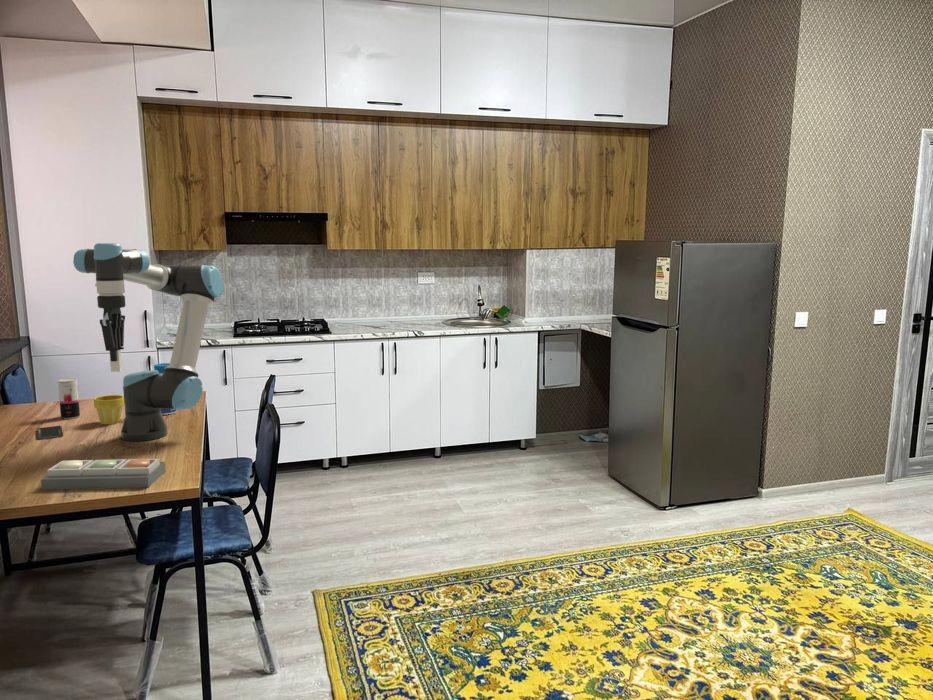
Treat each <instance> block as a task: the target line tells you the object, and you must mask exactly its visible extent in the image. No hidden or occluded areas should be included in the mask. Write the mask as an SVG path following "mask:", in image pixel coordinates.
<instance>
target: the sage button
mask: <svg viewBox="0 0 933 700" xmlns="http://www.w3.org/2000/svg"><path fill="white" fill-rule="evenodd" d="M100 460H101V461H97V462H95V463H94V464H93V468H113V467H115V466H116V465H117V464H116V460H117V459H100Z"/></svg>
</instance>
